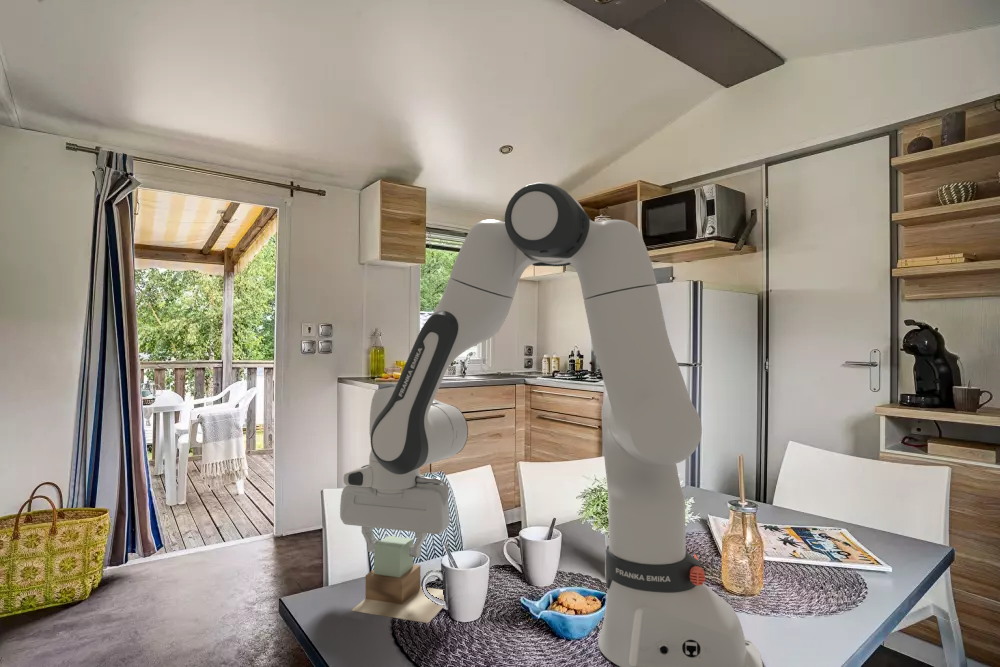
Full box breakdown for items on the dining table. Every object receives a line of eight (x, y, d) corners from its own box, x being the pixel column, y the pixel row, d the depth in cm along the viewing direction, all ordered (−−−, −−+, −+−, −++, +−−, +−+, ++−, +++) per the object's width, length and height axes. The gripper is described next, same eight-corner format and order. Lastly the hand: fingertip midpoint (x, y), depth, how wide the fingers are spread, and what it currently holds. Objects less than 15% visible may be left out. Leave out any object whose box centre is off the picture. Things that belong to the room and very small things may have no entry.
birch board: (457, 597, 98) (457, 591, 98) (428, 629, 87) (428, 622, 87) (387, 587, 102) (387, 581, 102) (350, 616, 91) (350, 610, 91)
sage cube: (413, 566, 99) (413, 538, 99) (399, 577, 94) (400, 547, 95) (388, 563, 101) (388, 535, 101) (374, 573, 96) (374, 544, 96)
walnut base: (420, 587, 100) (420, 565, 100) (401, 604, 93) (402, 580, 93) (385, 582, 102) (386, 560, 102) (365, 598, 95) (365, 575, 95)
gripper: (455, 474, 98) (455, 553, 98) (355, 467, 104) (354, 542, 104) (441, 482, 92) (440, 566, 92) (335, 474, 98) (334, 553, 98)
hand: (394, 553), depth 98 cm, fingers open, 7 cm apart
